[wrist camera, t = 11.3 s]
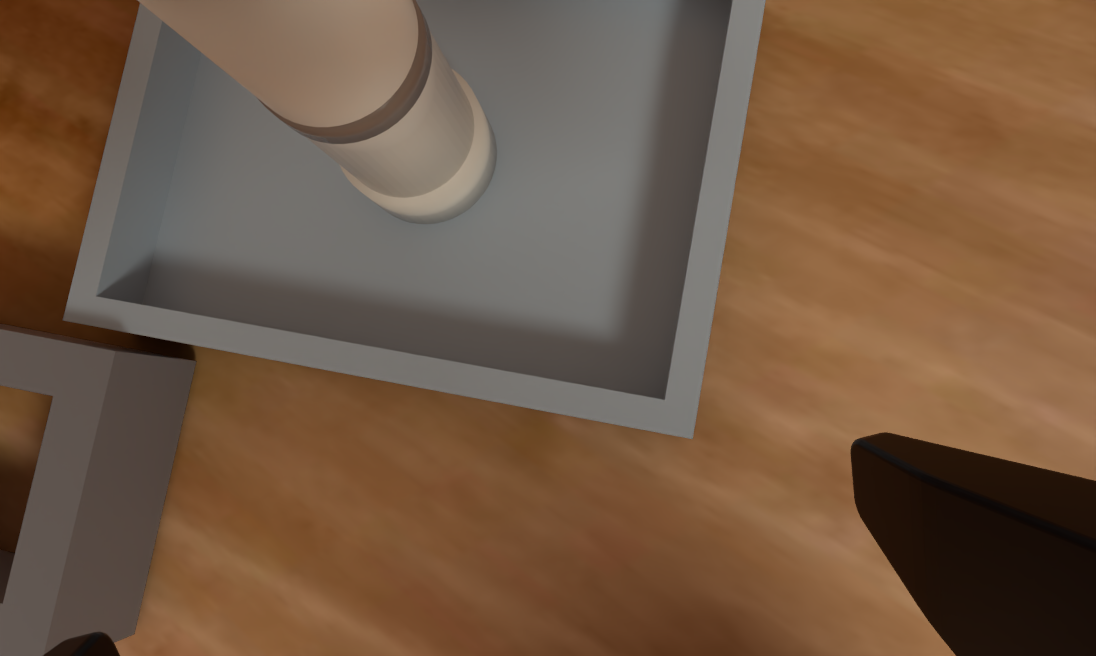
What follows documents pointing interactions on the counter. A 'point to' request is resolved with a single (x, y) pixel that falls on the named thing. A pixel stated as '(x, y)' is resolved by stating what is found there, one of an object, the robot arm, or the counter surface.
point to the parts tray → (462, 242)
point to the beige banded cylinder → (355, 92)
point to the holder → (88, 486)
